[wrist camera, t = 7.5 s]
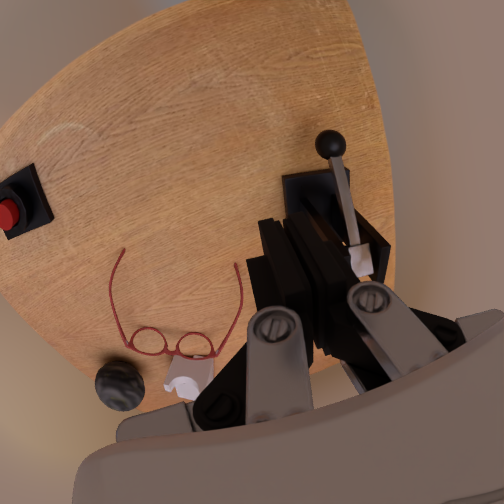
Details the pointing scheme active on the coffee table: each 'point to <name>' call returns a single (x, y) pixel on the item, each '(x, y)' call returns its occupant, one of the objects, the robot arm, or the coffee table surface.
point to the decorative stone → (119, 386)
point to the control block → (26, 201)
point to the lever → (344, 200)
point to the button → (8, 214)
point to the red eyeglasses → (165, 350)
